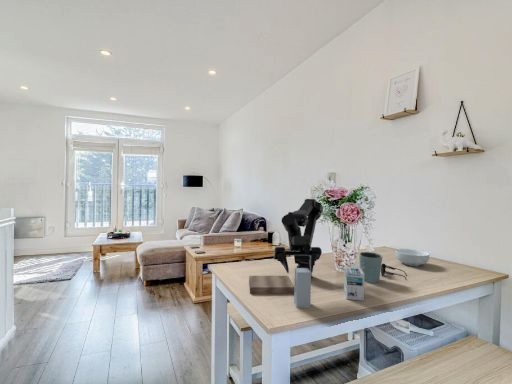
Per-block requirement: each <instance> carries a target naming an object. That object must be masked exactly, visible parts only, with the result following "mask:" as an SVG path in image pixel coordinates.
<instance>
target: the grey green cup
mask: <svg viewBox="0 0 512 384" xmlns="http://www.w3.org/2000/svg"><path fill="white" fill-rule="evenodd" d="M358 255H359V266H360V267H361V269H362V271H363V272H364V274H365V275H364V283H370V284H377V283H379V282H380V277H381V265H382V264H383V263H382V262H383V255H381V254H379V253H377V252H372V251H371V252H369V251H362V252H360V253H359V254H358Z"/></svg>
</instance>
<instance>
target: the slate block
mask: <svg viewBox="0 0 512 384" xmlns="http://www.w3.org/2000/svg"><path fill="white" fill-rule="evenodd" d="M311 280H312V278H311V271H310V270H309V269H308V268H297V267H295V268H294V282H293V283H294V284H293V286H294V293H293V296H294V297H293V299H294V301H293V302H294V304H295V307H296V308H297V309H301V308H302V309H304V308H306V309H307V308H309V309H311V300H312V299H311V296H312V281H311Z"/></svg>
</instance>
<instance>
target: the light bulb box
mask: <svg viewBox="0 0 512 384" xmlns="http://www.w3.org/2000/svg"><path fill="white" fill-rule="evenodd" d="M343 269H344V271H343V272H344V275H343V276H344V278H343V291H344V295H345V298H346V300H351V301H352V300H354V301H364V300H365V282H364V275H365V274H364V272H363V271H362V269H361V267H360V265H351V264H349V265H348V264H344V267H343Z"/></svg>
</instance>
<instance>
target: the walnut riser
mask: <svg viewBox="0 0 512 384" xmlns="http://www.w3.org/2000/svg"><path fill="white" fill-rule="evenodd" d="M291 280H292V279H291V278H290V276H289V275H249V276H248V284H249V285H248V286H249V294H294V284H293V283H292V281H291Z"/></svg>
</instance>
